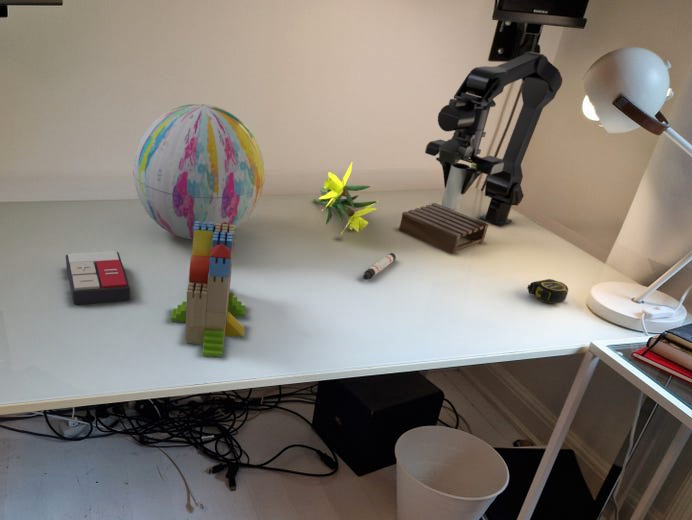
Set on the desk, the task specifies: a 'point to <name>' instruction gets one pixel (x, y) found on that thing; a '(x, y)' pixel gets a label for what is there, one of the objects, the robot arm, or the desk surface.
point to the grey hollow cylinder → (454, 186)
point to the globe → (198, 169)
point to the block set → (211, 290)
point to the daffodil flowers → (344, 200)
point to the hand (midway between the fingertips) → (454, 190)
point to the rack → (442, 227)
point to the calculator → (97, 277)
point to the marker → (379, 266)
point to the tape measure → (549, 290)
